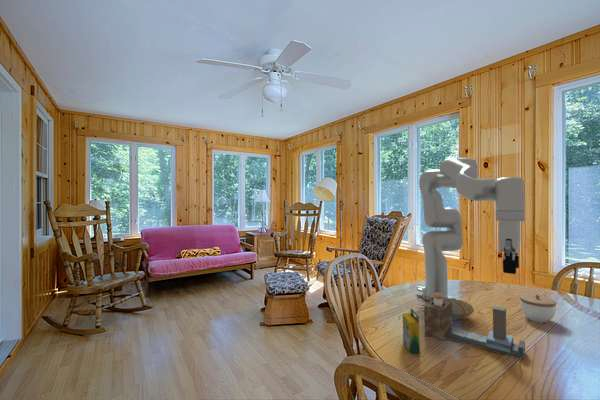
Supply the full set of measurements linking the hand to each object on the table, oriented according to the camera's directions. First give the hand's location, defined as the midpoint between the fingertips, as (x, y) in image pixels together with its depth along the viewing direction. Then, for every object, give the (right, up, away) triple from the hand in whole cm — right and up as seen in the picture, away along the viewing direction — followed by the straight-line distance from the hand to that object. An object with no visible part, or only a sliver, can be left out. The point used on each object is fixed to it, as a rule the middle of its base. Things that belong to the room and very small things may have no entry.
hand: (511, 270), depth 93 cm
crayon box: (-32, -25, -1) cm, 40 cm away
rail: (-8, -24, +1) cm, 25 cm away
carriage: (-5, -23, -2) cm, 23 cm away
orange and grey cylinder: (-18, -18, +10) cm, 27 cm away
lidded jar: (+24, -24, +20) cm, 39 cm away
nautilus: (-10, -24, +24) cm, 36 cm away
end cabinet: (-18, -24, +10) cm, 32 cm away
